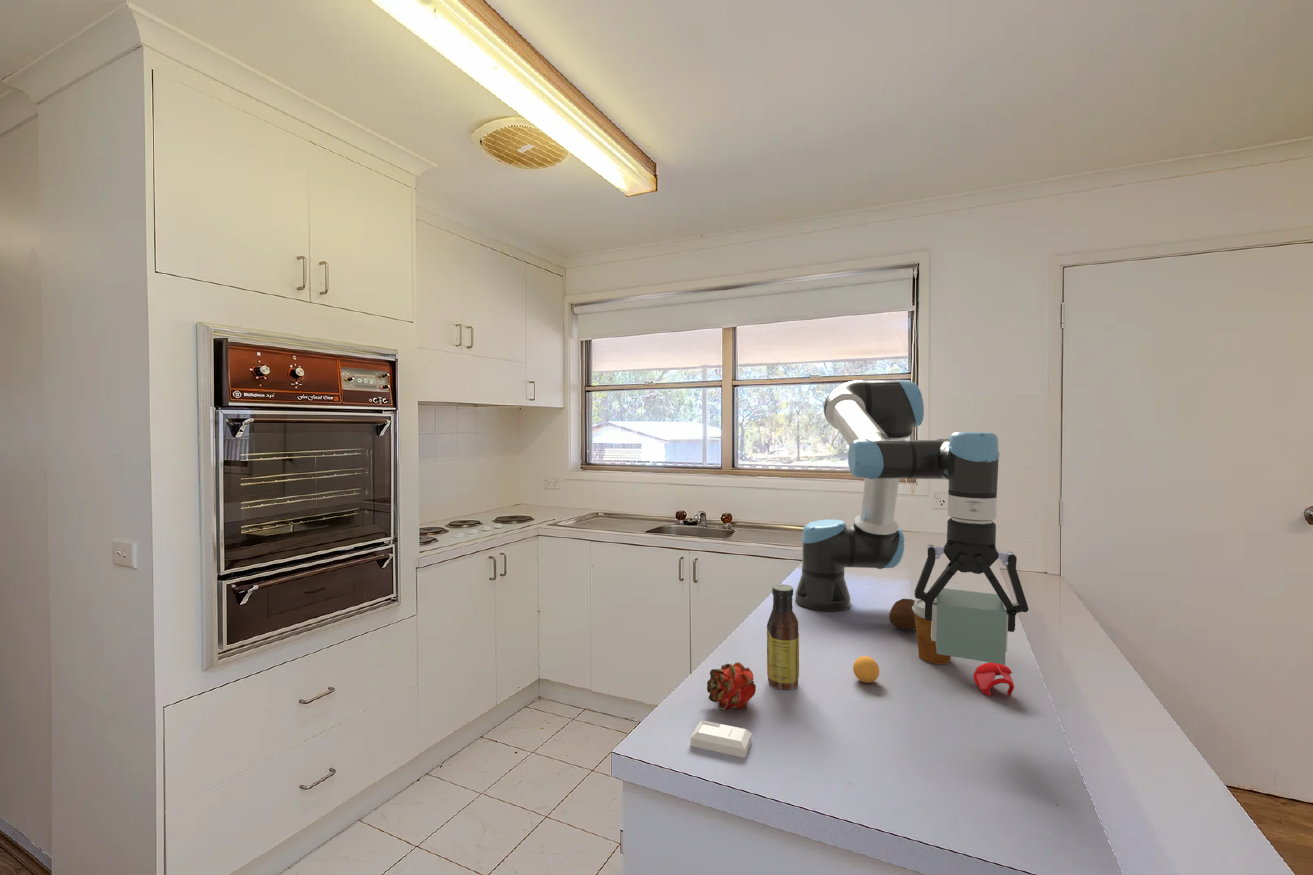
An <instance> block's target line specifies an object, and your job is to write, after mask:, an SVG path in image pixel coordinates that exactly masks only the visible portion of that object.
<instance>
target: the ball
mask: <svg viewBox="0 0 1313 875" xmlns="http://www.w3.org/2000/svg"><path fill="white" fill-rule="evenodd" d="M852 672H853V674H854V676H855V677H856V679H858V680H859V681H860V682H863V683H866V684H867V683H869V684H870V683H873V682H875V681H876V680H877V679H878V678H879V676H880V666H879V664H878V663H877V661H876V660H875V659H874V658H872V657H871V656H867V655H864V656H863V655H861V656H859V657H858V658H856V659H855V660H854V662H853V665H852Z"/></svg>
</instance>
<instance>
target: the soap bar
mask: <svg viewBox="0 0 1313 875" xmlns="http://www.w3.org/2000/svg"><path fill="white" fill-rule="evenodd" d="M752 735H753V734H752V733H751V731H749V730H748V729H746V728H743V727H738V726H737V727H736V726H732V725H727V724H723V723H719V722H718V723H717V722H712V721H707V720H701V721H700V722H699V723H698V724H697V725H696V727H695V729H694V731H693V733H692V734H691V736H690V747H695V748H697V749H703V750H707V751H712V752H715V753H716V752H717V753H719V754H720V753H721V754H726V755H728V756H729V755H730V756H734V757H739V758H743V759H745V758H746V757H747V755H748V752H749V749H750V747H751V745H752Z"/></svg>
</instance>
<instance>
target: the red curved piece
mask: <svg viewBox="0 0 1313 875" xmlns="http://www.w3.org/2000/svg"><path fill="white" fill-rule="evenodd" d="M1012 674H1013V672H1012V669H1010V667H1009V666H1007V665H1006V664H1005V665H1003V664H997V663H991V662H986V663H985V662H984V663H982V664H980V665H979V666H977V667H976V669H975V671H974V673H973V676H972V678H973V681H974V684H976V686H977V687H978V688H979V689H980V691H981V692H982V694H984V695H986V696H989V697H990V696H992V693H991V691H990V690H991V688H992V687H994V686H997V685H999V684H1007V685H1008V689H1007V692H1006V693H1007V695H1008V696H1011V695H1012V693H1013V691H1014V690H1015V689H1014V688H1015V684H1014V682H1013V678H1012V676H1011V675H1012ZM996 676H1002V677H1001V678H996Z"/></svg>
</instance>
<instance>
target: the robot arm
mask: <svg viewBox="0 0 1313 875" xmlns="http://www.w3.org/2000/svg"><path fill="white" fill-rule="evenodd" d="M922 395H923V394H922V392H921V388H919V386H918V385H917V384H916V383H915V382H914V381H910V380H900V379H895V380H894V379H891V380H889V379H887V380H886V379H885V380H883V379H882V380H881V379H880V380H851V381H847V382H844V383H842V384H840V385H838V386H836V388H834V389H833V390H832V391H830V393H829V394H828V395H827V396H826V398H825V400H824V402H823V403H824V404H823V414H824V417H825V419H826V421H827V423H828V424H829V425H830V426H831V427H833V428H834V429H835V430H838V431H839V433H840V434H841V436H842V438H843V439H844V441H845V442H846V443H847V445H848V446H849V448H848V454H847V460H848V461H847V463H848V467H849V473H850V474H851V475H852V476H853V477H855V478H862V479H864V483H863V490H862V491H863V493H862V501H861V510H860V514H858V515H857V516H856V517H855V518H854V521H853V525H847V524H846V522H845V521H844V520H843V519H842V520H841V519H831V518H830V519H820V520H814V521H811V522H808V523H806V524H805V525H804V526H803V529H802V537H801V538H802V539H801V542H802V547H801V548H802V552H801V554H802V557H801V562H802V563H801V576H800V578H799V581H798V584H797V587H796V590H795V598H794V599H795V602H796V603H797V604H798V605H800V606H802V607H804V608H807V609H810V610H814V611H815V610H816V611H822V612H823V611H824V612H838V611H839V612H840V611H844V610H846V609H849V608H850V607H851V595H850V591H849V588H848V585H847V581H846V579H845V569H846V568H854V569H855V568H858V569H861V568H862V569H863V568H864V569H866V568H867V569H877V570H883V569H894V568H895V567H897V566H898V565H899V564H900V562H901V561H902V558H903V556H904V551H905V544H904V543H905V536H904V535H905V534H904V533H903V530H902V529H901V528H900V526H899V523H898V522H897V521H896V520H895V519H894V518H895V512H896V506H897V498H898V491H899V483H900V479H903V480H904V479H912V480H914V479H915V480H948V492H947V493H948V494H947V516H948V517H950V518H948V520H947V521H946V522H947V525H946V526H947V527H946V530H947V531H946V543H945V545H944V546H934V545H933V544H928V546H927V557H926V561H925V563H924V565H923V568H922V570H921V573H920V575H919V579H918V581H917V584H916V586H915V589H914V597H915V599H916V600H919V599H921V600H923V601H924V602H925V619H926V620H928V621H931V641H936V627H937V601H934V600H935V599H936V597H937V596H938V595H939V593H940V592H941V591H942V589H943V588H945V587H946V586H947V584H948V583H949V581H950V580H951V579H952V578H953V576H955V575H956V573H957V572H960V573H964V574H965V573H973V574H976V575H981V574H984V576H985V577H986V579H987V580H988V582H989V583H990V585H991V586H992V588H993V590H994V592H995V594H997V595H998V596H999V598H1000V599H1001V601H1002V603H1003V605H1004V608H1005V610H1006V612H1007V624H1006V653H1008V633H1009V632H1010V633H1014V632H1015V630H1016V616H1017V614H1018V613H1027V612H1029V609H1030V608H1029V606H1028V602H1027V599H1026V596H1025V593H1024V590H1023V586H1022V584H1021V580H1020V576H1019V575H1018V574H1019V573H1018V571H1017V556H1016V554H1015V553H1014V552H1013V551H1008V552H1003V551H998V550H997V548H996V547H997V546H996V542H997V541H996V540H997V524H996V523H995V520H996V519H997V503H998V502H997V501H998V500H997V499H998V477H999V476H998V475H999V460H1000V451H999V438H998V436H997V435H996V433H993V432H989V431H988V432H987V431H985V432H982V431H955V432H953V433H951V435H950V436H949V438H945V439H944V438H939V439H931V440H930V439H908V438H910V437H911V436H912V435H913V428H916V427H919V426H921V425H922V423H923V421H924V418H925V417H924V416H925V406H924V398H923V396H922ZM943 554H944V555H945V556H946V557H947V559H948V560H949V561H948V564H947V565H946V567H945V569H944V570H943V571H942V572H941V574H940V575H939V577H938V578H937V579H936V580H935V582H934V583H933V584H932V586H931V587H930V588H929V590H927V592H925V590H926V588H927V585H928V582H929V580H930V578H931V574H932V571H933V569H934V566H935V564H936V560H939V559H940V558H941V555H943ZM998 559H999V560H1000V561H1001V563H1002V565H1003V566H1005V568H1006V572H1007V574H1008V578H1009V581H1010V584H1011V586H1012V591H1013V593H1014V596H1015V597H1014V598H1015V600H1016V602H1013V603H1012V601H1011V599H1010V597H1009V596H1008V594H1007V593H1006V591H1005V590H1004V588H1003V586H1002V585H1001V583H1000V582H999V579H997V577H996V575H995V573H994V572H993V570H992V569H991V566H992V565H993V564H994V563H995V562H996V561H997V560H998Z"/></svg>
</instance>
